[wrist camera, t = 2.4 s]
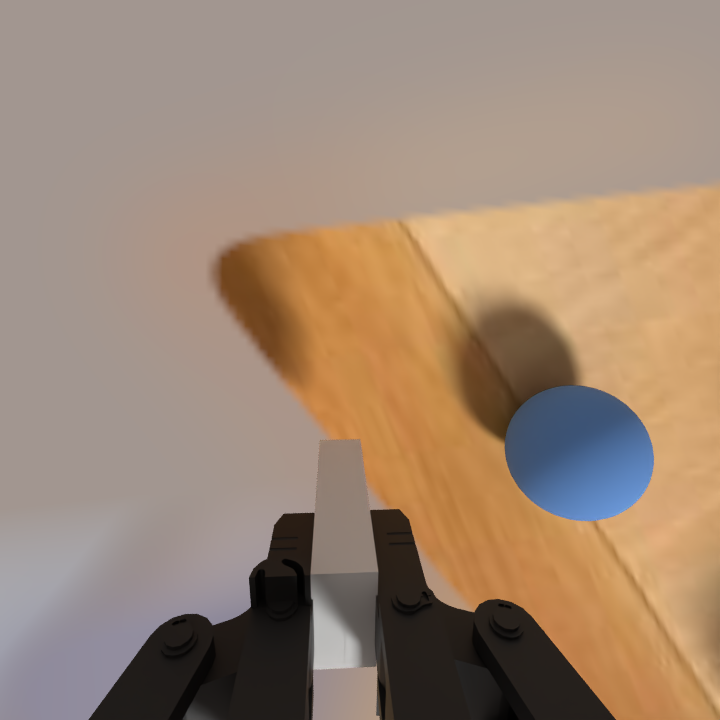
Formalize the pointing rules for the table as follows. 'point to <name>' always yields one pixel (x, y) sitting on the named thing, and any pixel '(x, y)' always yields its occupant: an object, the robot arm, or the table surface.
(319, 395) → the table surface
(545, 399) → the ball
